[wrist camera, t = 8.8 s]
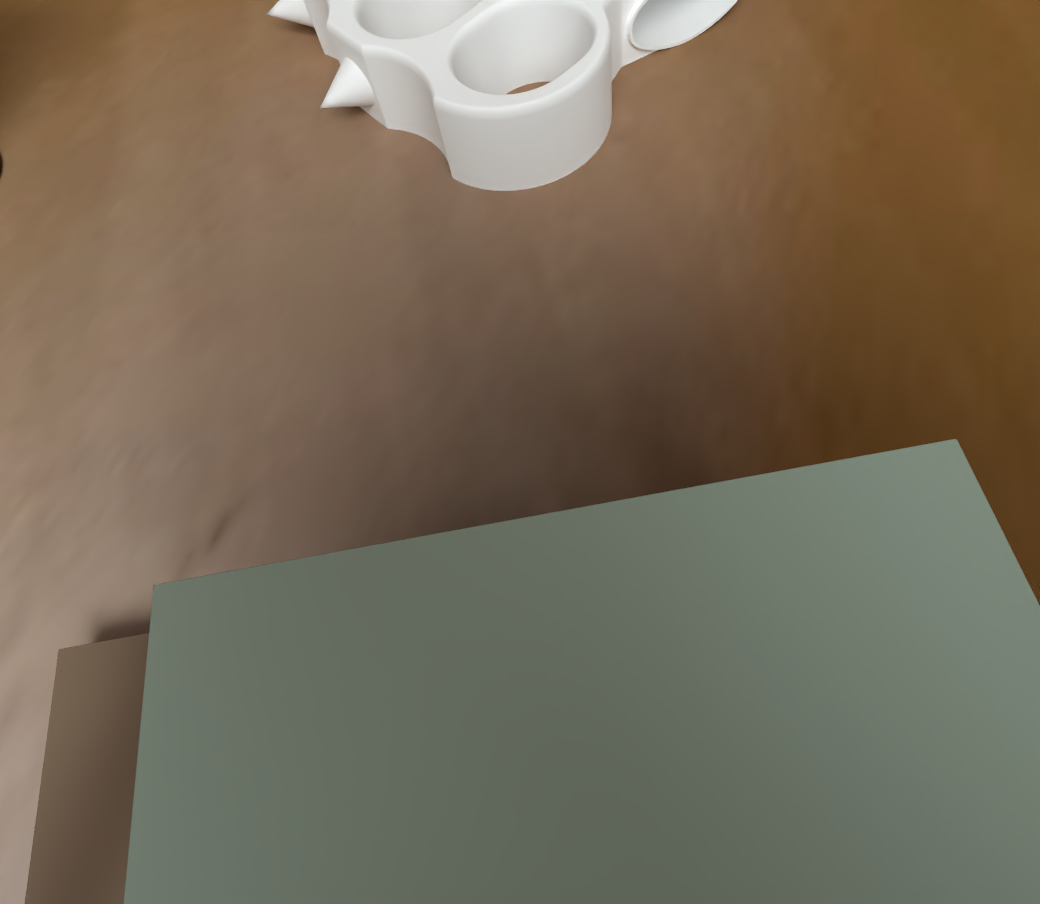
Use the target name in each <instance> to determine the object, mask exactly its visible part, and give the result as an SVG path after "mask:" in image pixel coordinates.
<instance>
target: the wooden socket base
mask: <svg viewBox="0 0 1040 904" xmlns="http://www.w3.org/2000/svg"><path fill="white" fill-rule="evenodd" d="M148 640H149V633H145V634H140V635H135V636H129V637H124V638H118V639H113V640H107V641H102V642H96V643H91V644H86V645H80V646H75V647H69V648H64V649H59V652H58V660H57V667H56V674H55V682H54V689H53V697H52V704H51V712H50V719H49V727H48V734H47V742H46V749H45V757H44V764H43V771H42V779H41V786H40V794H39V801H38V809H37V816H36V824H35V831H34V839H33V846H32V853H31V861H30V868H29V876H28V883H27V891H26V898H25V904H124V895H125V885H126V874H127V864H128V853H129V842H130V832H131V821H132V810H133V800H134V789H135V779H136V768H137V757H138V747H139V736H140V725H141V715H142V704H143V693H144V683H145V672H146V662H147V651H148Z"/></svg>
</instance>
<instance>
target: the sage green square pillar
mask: <svg viewBox="0 0 1040 904" xmlns="http://www.w3.org/2000/svg"><path fill="white" fill-rule="evenodd" d="M124 904H1040V606H1039V604H1038V602H1037V599H1036V597H1035V595H1034V593H1033V591H1032V589H1031V587H1030V585H1029V583H1028V581H1027V579H1026V577H1025V575H1024V573H1023V571H1022V569H1021V567H1020V565H1019V563H1018V561H1017V559H1016V557H1015V555H1014V553H1013V551H1012V549H1011V547H1010V545H1009V543H1008V541H1007V539H1006V537H1005V535H1004V533H1003V531H1002V529H1001V527H1000V525H999V523H998V521H997V519H996V517H995V515H994V513H993V511H992V509H991V507H990V505H989V503H988V501H987V499H986V497H985V495H984V493H983V491H982V489H981V487H980V485H979V483H978V481H977V479H976V477H975V475H974V473H973V471H972V469H971V467H970V465H969V463H968V461H967V459H966V457H965V455H964V453H963V451H962V449H961V447H960V445H959V443H958V441H957V439H953V440H947V441H942V442H936V443H931V444H925V445H920V446H914V447H909V448H903V449H898V450H892V451H887V452H881V453H876V454H870V455H865V456H859V457H854V458H848V459H843V460H837V461H832V462H826V463H821V464H815V465H810V466H804V467H799V468H793V469H788V470H783V471H777V472H772V473H766V474H761V475H755V476H750V477H744V478H739V479H733V480H728V481H722V482H717V483H711V484H706V485H700V486H695V487H689V488H684V489H678V490H673V491H667V492H662V493H656V494H651V495H645V496H640V497H634V498H629V499H623V500H618V501H612V502H607V503H601V504H596V505H590V506H585V507H580V508H574V509H569V510H563V511H558V512H552V513H547V514H541V515H536V516H530V517H525V518H519V519H514V520H508V521H503V522H497V523H492V524H486V525H481V526H475V527H470V528H464V529H459V530H453V531H448V532H442V533H437V534H431V535H426V536H420V537H415V538H409V539H404V540H398V541H393V542H388V543H382V544H377V545H371V546H366V547H360V548H355V549H349V550H344V551H338V552H333V553H327V554H322V555H316V556H311V557H305V558H300V559H294V560H289V561H283V562H278V563H272V564H267V565H261V566H256V567H250V568H245V569H239V570H234V571H228V572H223V573H217V574H212V575H207V576H201V577H196V578H190V579H185V580H179V581H174V582H168V583H163V584H157V585H154V587H153V598H152V608H151V619H150V630H149V640H148V651H147V662H146V672H145V683H144V693H143V704H142V715H141V725H140V736H139V747H138V757H137V768H136V779H135V789H134V800H133V810H132V821H131V832H130V842H129V853H128V864H127V874H126V885H125V895H124Z"/></svg>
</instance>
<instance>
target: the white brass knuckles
mask: <svg viewBox="0 0 1040 904" xmlns="http://www.w3.org/2000/svg"><path fill="white" fill-rule="evenodd" d="M736 2H737V0H279V1H278V2H277V3H276V5H275V6H274V7H273V8H272V9H271V10H270V11H269V12H268V13H267V14H266V15H270V16H274V17H277V18H281V19H285V20H288V21H292V22H296V23H300V24H303V25H307V26H311V27H314V28H315V31H316V33H317V36H318V38H319V41H320V43H321V46H322V49H323V51H324V53H325V54H326V55H329V56H331V57H334V58H335V59H337V60H339V62H340V67H339V70H338V72H337V74H336V76H335V78H334V80H333V82H332V84H331V86H330V88H329V91H328V93H327V95H326V97H325V99H324V101H323V103H322V105H321V107H320V108H331V107H352V106H359V107H360V108H362V109H363V110H364V111H366V112H367V113H368V114H369V115H371V116H372V117H373V118H375V119H376V120H377V121H378V122H380V123H381V124H382V125H384V126H385V127H386V128H388V129H397V130H403V131H408V132H411V133H414V134H417V135H419V136H422V137H424V138H426V139H427V140H429V141H430V142H432V143H433V144H434V145H436V146H437V147H438V148H439V149H440V150H441V152H442V153H443V154H444V156H445V157H446V159H447V161H448V163H449V167H450V171H451V175H452V178H453V179H455V180H457V181H459V182H462V183H464V184H467V185H469V186H473V187H476V188H481V189H487V190H496V191H513V190H523V189H529V188H534V187H538V186H542V185H545V184H548V183H551V182H553V181H556V180H558V179H560V178H562V177H565V176H566V175H568V174H570V173H572V172H573V171H575V170H576V169H578V168H579V167H581V166H582V165H583V164H585V163H586V162H587V161H588V160H589V159H590V158H591V157H592V156H593V155H594V154H595V153H596V152H597V151H598V149H599V148H600V147H601V145H602V144H603V142H604V140H605V138H606V136H607V134H608V131H609V129H610V125H611V118H612V81H613V79H614V78H615V76H616V74H617V73H618V71H619V70H620V68H621V67H622V66H624V65H627V64H629V63H631V62H633V61H635V60H637V59H639V58H642V57H644V56H646V55H648V54H650V53H652V52H655V51H657V50H661V49H667V48H671V47H674V46H677V45H680V44H682V43H684V42H687V41H689V40H691V39H692V38H694V37H696V36H698V35H699V34H701V33H702V32H704V31H705V30H707V29H708V28H709V27H711V26H712V25H713V24H714V23H716V22H717V21H718V20H719V19H720V18H721V17H722V16H723V15H724V14H725V13H727V12H728V11H729V10H730V8H731V7H732V6H733V5H734V4H735V3H736ZM546 81H550V83H548V84H546V85H544V86H542V87H539V88H537V89H534V90H531V91H527V92H523V93H517V94H508V95H505V94H506V93H508V92H510V91H511V90H513V89H515V88H518V87H520V86H523V85H526V84H530V83H535V82H546Z"/></svg>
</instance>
